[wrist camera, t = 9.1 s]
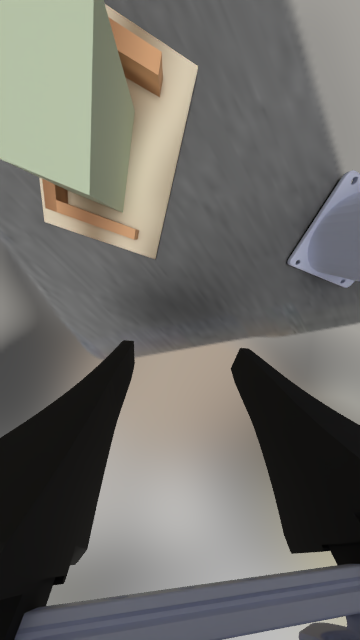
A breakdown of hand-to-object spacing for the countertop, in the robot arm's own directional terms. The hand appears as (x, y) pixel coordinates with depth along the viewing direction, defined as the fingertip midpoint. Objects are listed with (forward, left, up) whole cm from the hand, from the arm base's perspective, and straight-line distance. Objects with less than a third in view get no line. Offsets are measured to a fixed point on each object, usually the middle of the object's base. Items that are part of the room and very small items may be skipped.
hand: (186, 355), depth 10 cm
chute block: (+10, -10, -9) cm, 16 cm away
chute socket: (+9, -10, -9) cm, 16 cm away
